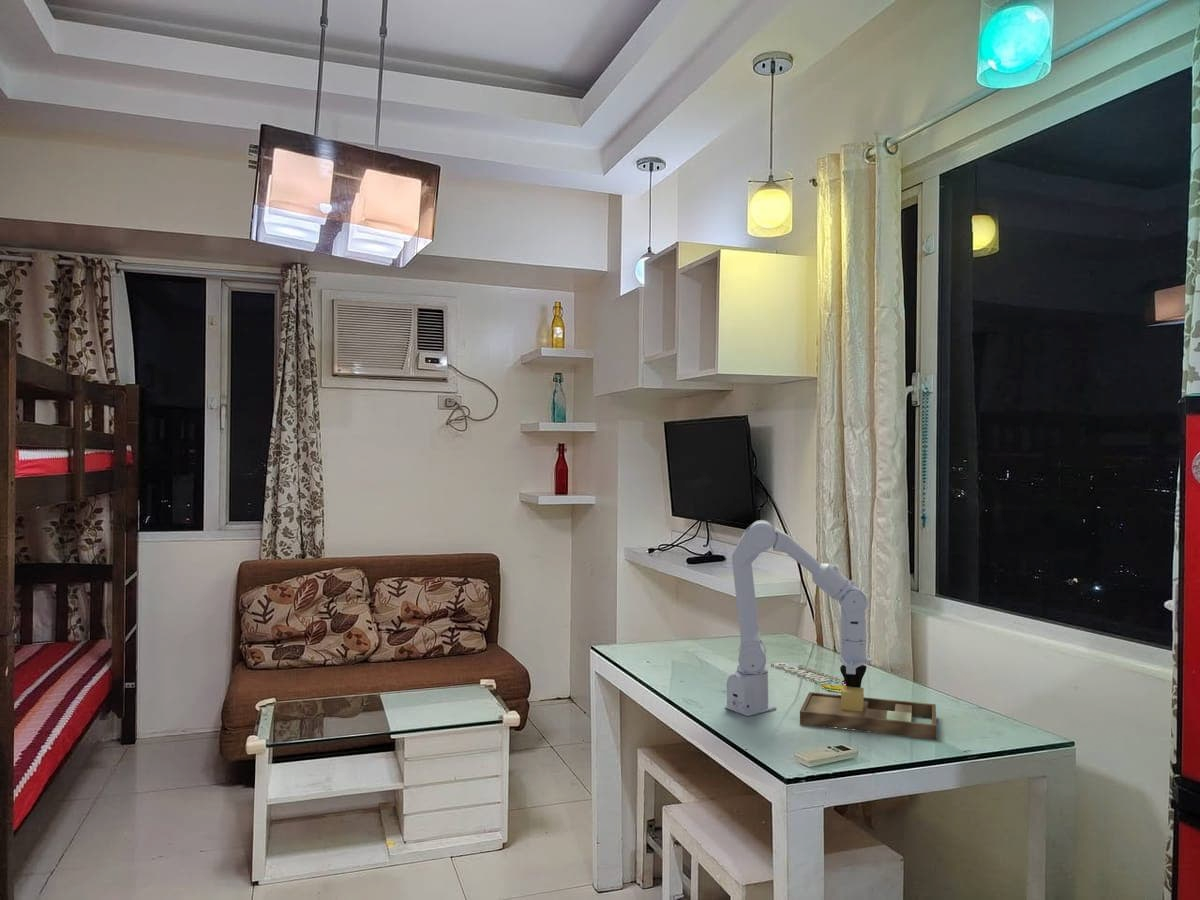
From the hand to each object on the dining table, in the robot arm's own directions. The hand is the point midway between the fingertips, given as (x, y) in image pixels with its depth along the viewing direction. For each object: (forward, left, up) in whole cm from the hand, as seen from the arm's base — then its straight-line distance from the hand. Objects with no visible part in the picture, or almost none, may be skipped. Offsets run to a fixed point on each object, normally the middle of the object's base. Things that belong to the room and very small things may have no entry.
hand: (853, 697), depth 189 cm
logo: (+16, +26, -4) cm, 30 cm away
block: (-3, -2, -1) cm, 4 cm away
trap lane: (-2, -5, -3) cm, 7 cm away
